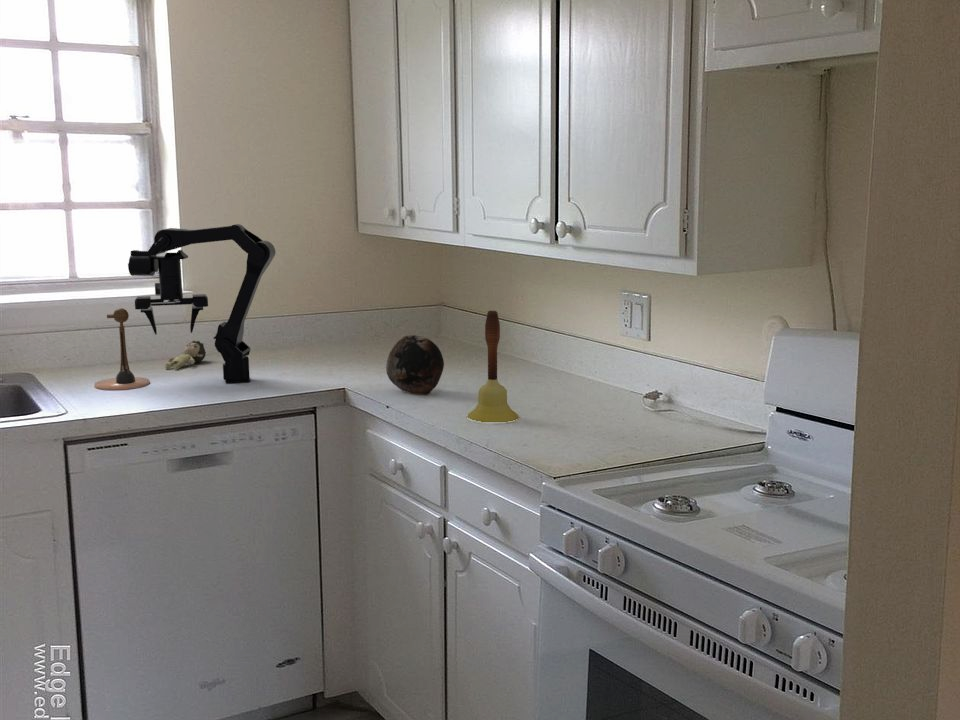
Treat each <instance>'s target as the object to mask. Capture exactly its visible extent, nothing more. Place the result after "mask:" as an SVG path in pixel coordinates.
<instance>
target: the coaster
mask: <svg viewBox="0 0 960 720" xmlns="http://www.w3.org/2000/svg"><path fill="white" fill-rule="evenodd" d="M134 377H135V382H133V383H129V384H117V383H116V377H111V378H105V379H102V380H98V381H96V382H94V388H95V389H98V390H102V391H124V390H133V389H138V388H139V389H140V388H143V387H146V386H148V385H150V379H149V378H147V377H143V376H142V377H141V376H134Z"/></svg>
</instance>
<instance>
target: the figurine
mask: <svg viewBox="0 0 960 720" xmlns="http://www.w3.org/2000/svg"><path fill="white" fill-rule="evenodd" d="M183 352H184V354H180V355H178V356H177V357H170V358H168V363H165V364H164V366H165V369H166V370H170V369H171V368H172V367H173V369H174V371H178V370H179V369H181V368H183V367H184V366H186V364H191V365H194V364H198V363H201V362H203V360H205V357H206V355H207V352H206V349H205V346H204V342H203V343H201V342H200V341H199V340H192V341H191V342H190V343H188V344H186V346H185V348H184V351H183Z"/></svg>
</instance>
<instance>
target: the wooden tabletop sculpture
mask: <svg viewBox="0 0 960 720" xmlns="http://www.w3.org/2000/svg"><path fill="white" fill-rule="evenodd" d="M129 317H130V315H129V312H128V311H127V310H126V308H120V307H119V308H117V309H114V312H113V313H111V314H106V318H107V319H113V320H114V322H117V323H119V326H118V330H119V344H120V346H119V347H120V368H119V371H118V373H117V374H116V377H115V378H116V383H117V384H129V383H133V382H135V377H136V376H135V375H134V373H133V372H132V371H131V370H130V366H129V361H128V354H127V345H126V332H125V327H126V325H124V323H126V322H127V321H128V320H129Z"/></svg>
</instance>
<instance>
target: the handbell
mask: <svg viewBox="0 0 960 720" xmlns="http://www.w3.org/2000/svg"><path fill="white" fill-rule="evenodd" d="M484 323H485V324H484V329H485V330H484V340H485V343H486V345H487V380H486V383H485V384H483V385H481V386H480V387H479V389H478V396H477V404H476V406H475V408H473V409H472V410H471V411H470V412H469V413H468V414H467V415H468V416H467V415H466V418H467V417H468V418H470V419H472V420H476V421H481V422H508V421H513V420H516V419H518V418H519V419H520V416H519V414H518V413H516V412H515V411H514V410H513V409H512V408H511V407H510V405H509V403H508V394H507V388H506V387H505V386H503V385H501V384H500V382H499V380H498V348H499V347H498V345H499V343H500V337H501V333H500V332H501V331H500V330H501V328H500V327H501V326H500V319H499V314H498V311H497V310H488V312H487V313H486V319H485V322H484ZM519 419H518V420H519Z"/></svg>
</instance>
